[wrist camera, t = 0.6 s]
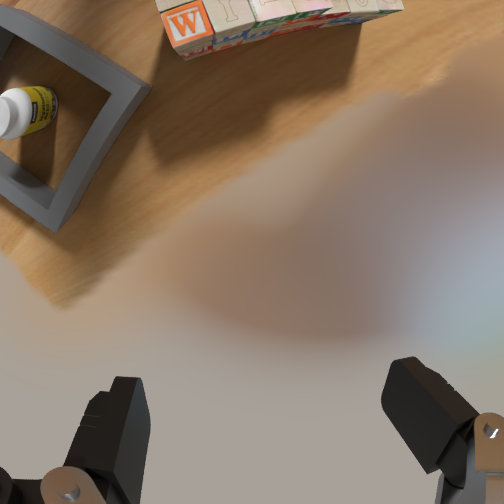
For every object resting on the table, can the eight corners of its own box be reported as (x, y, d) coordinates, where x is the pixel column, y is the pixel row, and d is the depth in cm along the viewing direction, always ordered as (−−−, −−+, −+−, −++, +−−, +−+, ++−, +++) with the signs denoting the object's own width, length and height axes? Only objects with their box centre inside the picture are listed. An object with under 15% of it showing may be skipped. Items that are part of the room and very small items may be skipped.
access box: (-35, 132, 25) (-61, 143, 20) (24, 10, 19) (-2, 4, 14) (74, 212, 34) (55, 233, 29) (152, 87, 28) (141, 86, 23)
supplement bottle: (63, 119, 28) (20, 134, 20) (29, 135, 28) (-17, 155, 20) (54, 78, 25) (8, 80, 17) (20, 96, 25) (-29, 106, 17)
